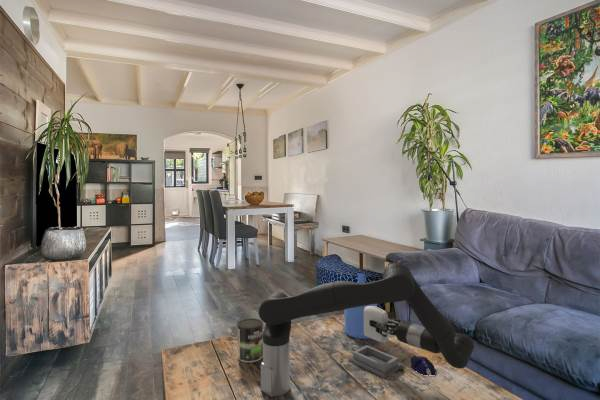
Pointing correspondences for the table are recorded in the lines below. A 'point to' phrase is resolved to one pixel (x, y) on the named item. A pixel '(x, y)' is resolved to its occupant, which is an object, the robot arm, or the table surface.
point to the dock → (375, 361)
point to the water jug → (356, 318)
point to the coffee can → (250, 340)
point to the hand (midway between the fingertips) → (374, 321)
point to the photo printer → (379, 317)
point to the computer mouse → (422, 365)
